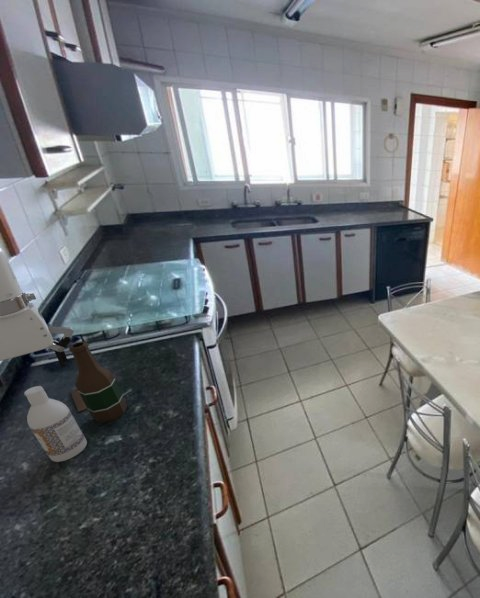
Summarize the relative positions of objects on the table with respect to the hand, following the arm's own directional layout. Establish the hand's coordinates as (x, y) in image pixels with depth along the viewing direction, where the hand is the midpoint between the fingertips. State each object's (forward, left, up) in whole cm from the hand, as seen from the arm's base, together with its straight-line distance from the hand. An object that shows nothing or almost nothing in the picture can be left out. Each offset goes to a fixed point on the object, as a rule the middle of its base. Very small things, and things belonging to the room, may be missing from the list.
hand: (33, 374), depth 73 cm
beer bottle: (+10, +8, -24) cm, 27 cm away
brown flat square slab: (+10, +21, -24) cm, 34 cm away
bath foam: (0, 0, -24) cm, 24 cm away
